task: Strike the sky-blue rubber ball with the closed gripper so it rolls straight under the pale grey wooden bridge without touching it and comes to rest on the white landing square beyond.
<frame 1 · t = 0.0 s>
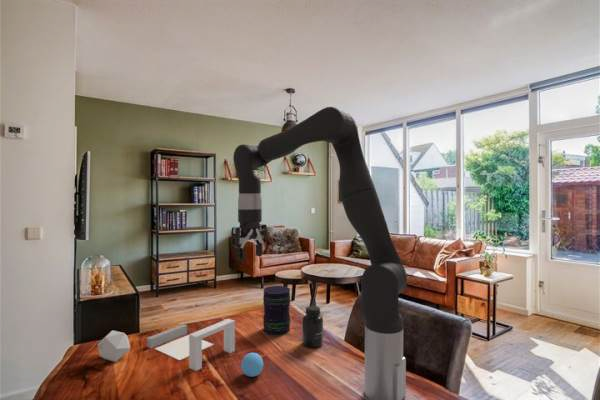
hand: (250, 257, 110), 29 cm above the table, tool pointing down, fingers open, 8 cm apart
die: (114, 359, 103), on the table
bridge: (213, 358, 103), on the table
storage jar: (276, 330, 125), on the table
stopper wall: (168, 340, 116), on the table
supplement bottle: (312, 344, 113), on the table
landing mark: (184, 346, 111), on the table
ball: (252, 364, 93), on the table
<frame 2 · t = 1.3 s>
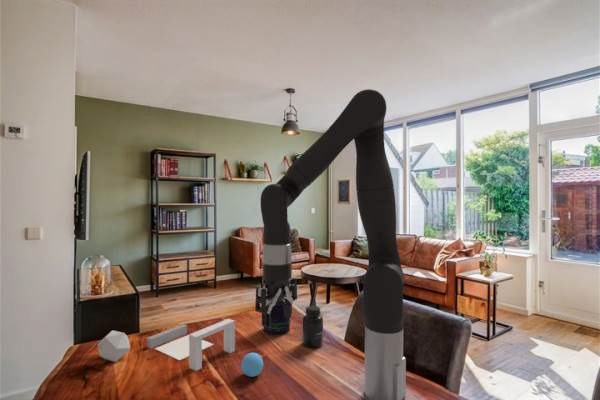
hand: (277, 322, 89), 16 cm above the table, tool pointing down, fingers open, 8 cm apart
nothing on the table moved.
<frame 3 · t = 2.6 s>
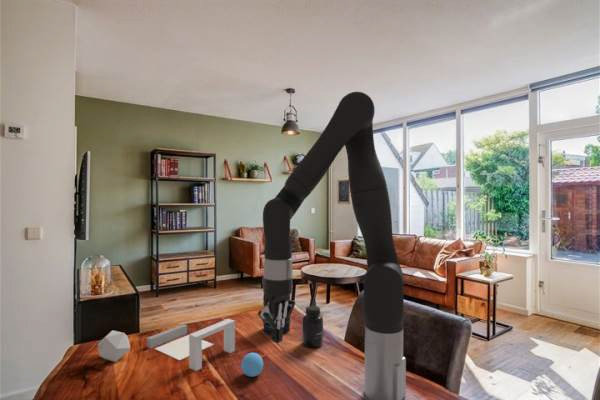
hand: (277, 341, 88), 12 cm above the table, tool pointing down, fingers closed
nothing on the table moved.
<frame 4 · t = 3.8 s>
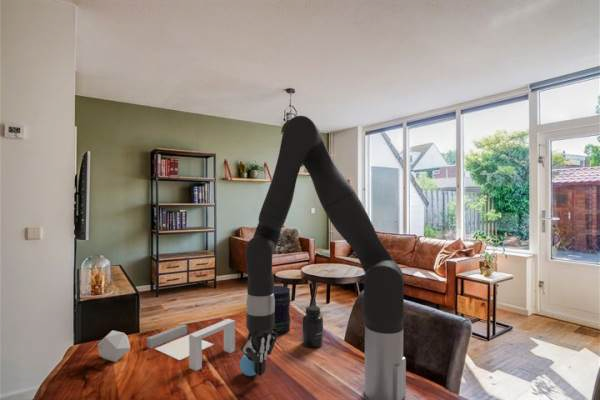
hand: (260, 373, 91), 2 cm above the table, tool pointing down, fingers closed
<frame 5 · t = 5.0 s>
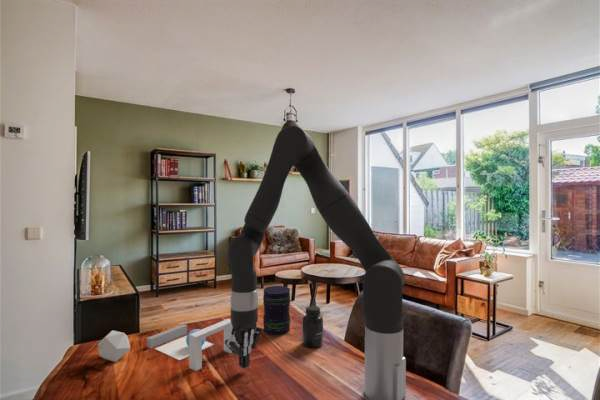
hand: (244, 366, 95), 2 cm above the table, tool pointing down, fingers closed
ball: (195, 338, 110), on the table
everything else where it was.
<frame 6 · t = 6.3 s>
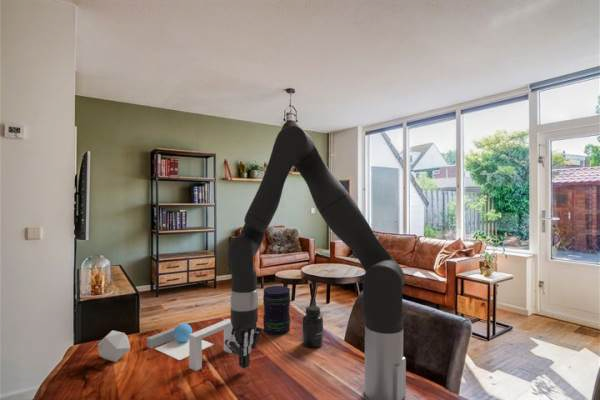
hand: (244, 366, 95), 2 cm above the table, tool pointing down, fingers closed
ball: (182, 332, 115), on the table
everything else where it was.
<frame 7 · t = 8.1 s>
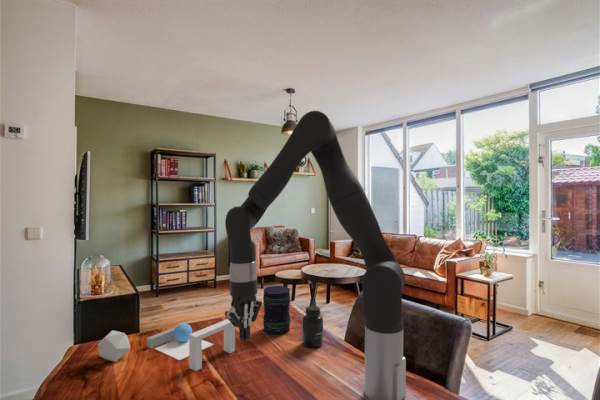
hand: (245, 339, 95), 9 cm above the table, tool pointing down, fingers closed
nothing on the table moved.
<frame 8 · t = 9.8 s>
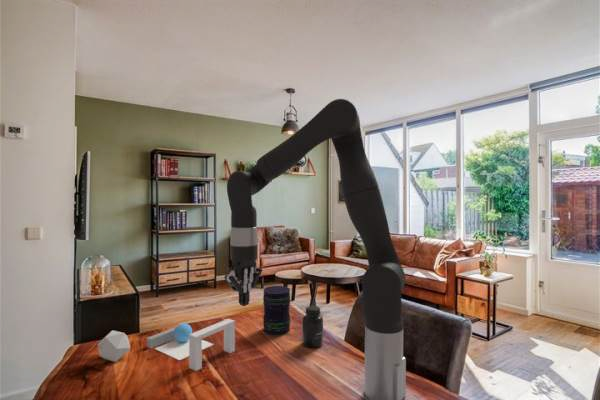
hand: (244, 304, 95), 19 cm above the table, tool pointing down, fingers closed
nothing on the table moved.
at the end: ball 4.5 cm from the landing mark (horizontally); ball never touched bridge; ball at rest at the end (0.0 cm/s) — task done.
